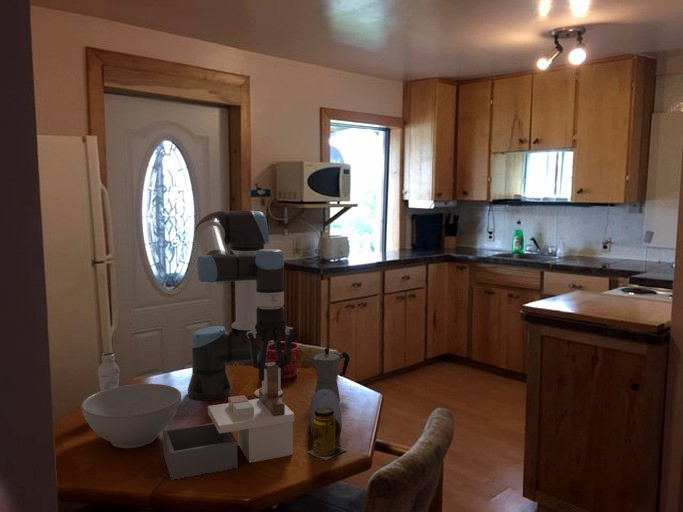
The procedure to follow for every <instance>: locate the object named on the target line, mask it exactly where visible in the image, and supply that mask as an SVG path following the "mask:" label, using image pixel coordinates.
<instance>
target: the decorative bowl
mask: <svg viewBox="0 0 683 512" xmlns="http://www.w3.org/2000/svg"><path fill="white" fill-rule="evenodd" d="M181 400H182V393H181V391H180V390H179V389H178V388H175V387H174V386H171V385H167V384H161V383H135V384H133V383H132V384H125V385H119V386H118V387H114V388H110V389H107V390H103V391H101V390H100V391H97V392H96V393H93V394H92V395H90V396H88V397H87V398H85V399H84V401H82V403H81V406H80V407H81V412H82V415H83V417H84V418H85V421H86V422H87V424H88V425H89V427H90V428H91V430H92V431H93V432H94V433H96V435H97V436H99V437H100V438H102V439H104V440H105V441H108V442H110V443H111V445H112V446H113V447H116V448H120V449H134V448H139V447H143V446H146V445H149V444H150V443H152V442H154V441H155V440H156V438H157V436H158V435H160V434H161V433H163V431H164V430H166V428H168V426H169V425H170V424H171V422H172V421H173V419H174V418H175V416H176V414H177V412H178V409H179V407H180V404H181Z"/></svg>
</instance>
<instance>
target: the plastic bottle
mask: <svg viewBox="0 0 683 512" xmlns="http://www.w3.org/2000/svg"><path fill="white" fill-rule="evenodd" d="M115 360H116V356H115V353H114V352H106V353H102V354H101V362H102V363H101V364H100V365H99V367H98V369H97V376H98V383H99V388H100V389H99V390H100V391H103V390H107V389H110V388H114V387H119V386H120V385H119V384H120V383H119V381H120V380H119V379H120V367H119V366H118V364H117V363H116V362H115Z"/></svg>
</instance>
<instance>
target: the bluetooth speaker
mask: <svg viewBox="0 0 683 512" xmlns="http://www.w3.org/2000/svg"><path fill="white" fill-rule="evenodd" d="M321 407H328V408H331V409H333V411H334V419H335V436H336V437H335V438H336V442H337V441H338V440H339V438H340V437H341V435H342V425H343V423H342V422H343V421H342V413H341V412H342V411H341V406H340V402H339V401H338V399H337V396H336V395H335V393H334V392H332V391H331V390H329V389H321V390H318V391H317V392H316V393H315V392H314V394H313V395H312V397H311V399H310V407H309V413H308V416H309V425H310V432H311V434H312V436H313V421H314V419H315V410H316V409H318V408H321Z"/></svg>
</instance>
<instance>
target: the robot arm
mask: <svg viewBox="0 0 683 512" xmlns="http://www.w3.org/2000/svg"><path fill="white" fill-rule="evenodd" d="M269 233H270V232H269V227H268V223H267V218H266V216H265V214H264V212H262V211H259V210H219V211H214V212H211V213H209V214H207V215H205V216H204V217H203V218H201V219H200V220H199V221H198V223H197V224H196V226H195V229H194V238H195V240H196V242H197V244H198V245H199V247H200V251H201V255H199V256H198V257H197V265H196V267H197V268H196V269H197V277H198V281H200V282H201V283H221V282H223V283H224V282H235V284H234V286H235V287H234V288H235V291H234V292H235V321H234V322H233V323H231V325H230V326H231V328H230V329H228V330H227V329H226V327H225V326H223V325H219V326H218V325H214V326H207V327H204V328H200V329H197V330H196V331H195V332H193V334H192V335H191V345H190V348H191V358H192V359H191V365H192V366H191V367H192V369H191V370H192V373H191V376H190V380H189V384H188V387H187V396H188V397H189V398H190V399H192V400H196V401H197V400H198V401H214V400H215V401H216V400H219V399H223V398H225V397H228V396H229V395H231V394H232V384H231V381H230V379H229V376H228V372H227V364H236V363H238V364H239V363H250V365H251V366H252V367H253V368H254V369H257V370H258V371H257V372H258V373H257V375H258V380H259V381H260V382H261V388H262V391H263V392H264V393H267V369H266V368H265V363H266V362H267V360H266V355H267V352H268V346H269V344H270V342H271V341H272V342H273V343H274V346H275V350H274V351H275V352H276V358H277V364H278V391H281V390H282V389H281V387H282V385H281V381H282V379H281V378H283V377H284V367H285V365H287V364H290V361H291V348H292V343H293V337H294V334H295V332H296V330H295V329H294V328H293V327H290V326H287V324H286V323H285V307H284V305H285V260H284V259H285V258H284V251H283V250H282V249H277V248H265V245H267V244H269V243H270V242H269V241H270V239H269V238H270V234H269ZM227 246H230V251H231V252H232V253H233V254H229V251H228V249H227ZM283 334H285V336H284V342H285V347H284V359H283V354H282V351H283V350H282V348H281V342H282V340H281V337H282V335H283Z"/></svg>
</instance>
